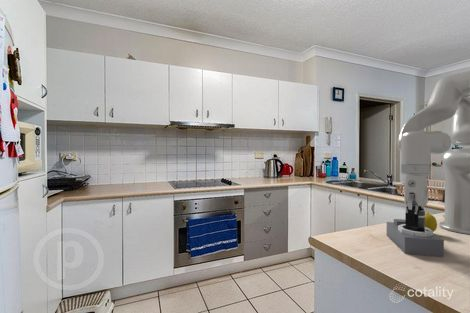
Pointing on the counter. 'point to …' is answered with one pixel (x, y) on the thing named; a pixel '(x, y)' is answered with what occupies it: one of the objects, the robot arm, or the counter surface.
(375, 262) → the counter surface
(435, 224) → the lemon
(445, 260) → the counter surface
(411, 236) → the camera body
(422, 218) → the lens
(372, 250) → the counter surface
